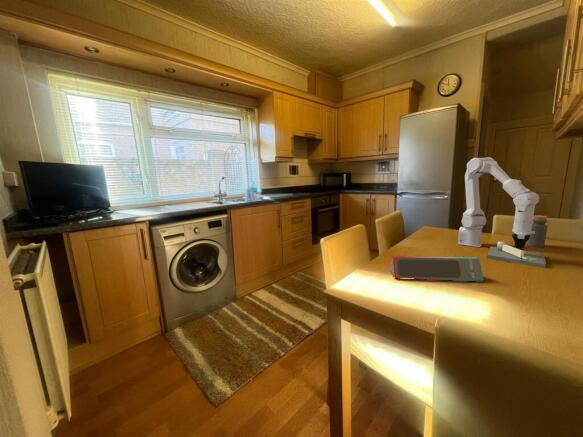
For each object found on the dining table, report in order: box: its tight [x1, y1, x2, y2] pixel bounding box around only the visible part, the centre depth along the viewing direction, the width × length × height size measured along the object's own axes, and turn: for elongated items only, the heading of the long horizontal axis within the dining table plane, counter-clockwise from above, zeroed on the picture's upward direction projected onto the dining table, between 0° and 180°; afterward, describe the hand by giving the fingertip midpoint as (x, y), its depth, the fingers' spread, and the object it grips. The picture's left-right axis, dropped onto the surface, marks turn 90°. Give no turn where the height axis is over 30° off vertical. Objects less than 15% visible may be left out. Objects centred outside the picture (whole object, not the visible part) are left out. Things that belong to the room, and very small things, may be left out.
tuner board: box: [486, 246, 547, 269], centre depth 106 cm, size 18×15×2 cm
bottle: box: [527, 214, 548, 249], centre depth 118 cm, size 6×6×15 cm
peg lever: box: [496, 240, 527, 259], centre depth 106 cm, size 15×3×3 cm, turn 176°
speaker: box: [389, 255, 484, 283], centre depth 92 cm, size 9×10×30 cm
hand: (518, 250), depth 106 cm, fingers closed
